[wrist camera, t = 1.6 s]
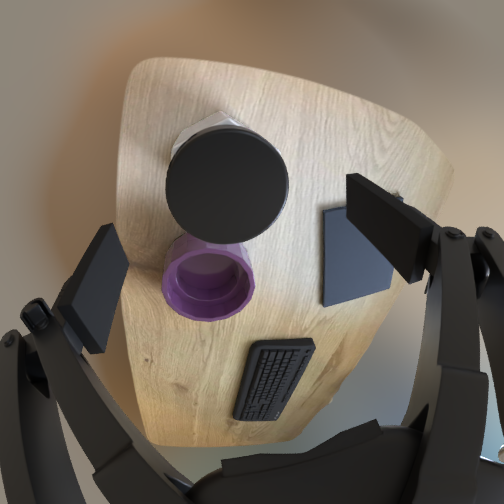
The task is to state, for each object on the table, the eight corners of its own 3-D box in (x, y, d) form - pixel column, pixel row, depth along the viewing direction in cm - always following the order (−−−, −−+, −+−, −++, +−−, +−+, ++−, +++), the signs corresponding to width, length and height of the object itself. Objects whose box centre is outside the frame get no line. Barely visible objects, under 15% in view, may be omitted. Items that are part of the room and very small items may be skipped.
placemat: (322, 210, 33) (324, 212, 33) (401, 196, 34) (403, 198, 34) (322, 305, 42) (323, 307, 42) (388, 286, 43) (389, 288, 42)
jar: (179, 110, 25) (163, 121, 15) (260, 112, 26) (298, 127, 16) (178, 192, 29) (167, 252, 19) (253, 193, 31) (280, 250, 21)
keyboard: (251, 340, 44) (253, 350, 42) (313, 337, 46) (317, 346, 45) (231, 417, 59) (232, 424, 57) (275, 414, 61) (277, 421, 60)
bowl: (154, 236, 32) (148, 260, 27) (240, 217, 32) (247, 239, 28) (179, 301, 37) (178, 328, 33) (253, 285, 38) (260, 311, 34)
